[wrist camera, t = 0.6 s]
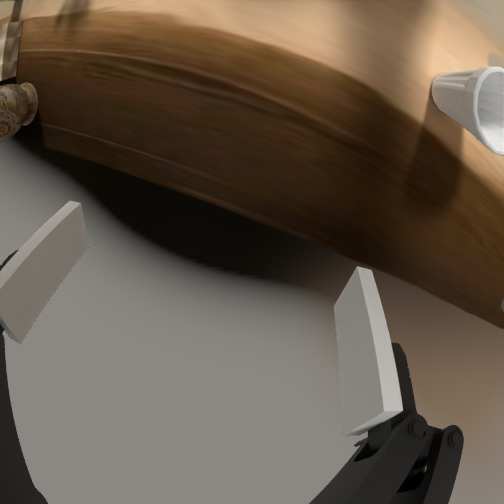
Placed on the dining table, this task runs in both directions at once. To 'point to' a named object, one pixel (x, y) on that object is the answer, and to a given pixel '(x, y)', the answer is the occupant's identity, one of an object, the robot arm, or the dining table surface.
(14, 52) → the socket
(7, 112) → the vase
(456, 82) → the cup
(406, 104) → the dining table surface
